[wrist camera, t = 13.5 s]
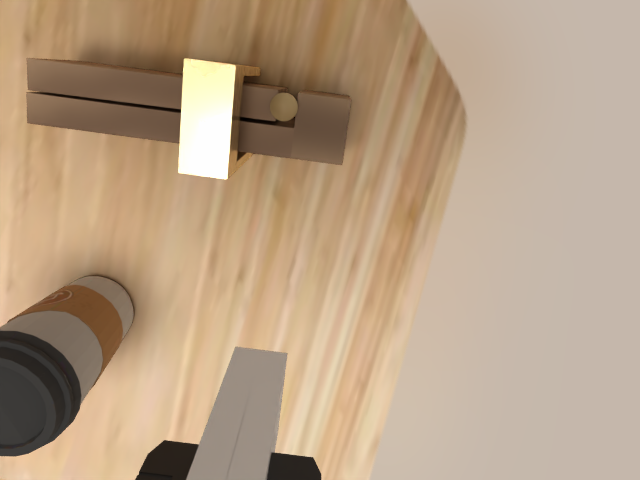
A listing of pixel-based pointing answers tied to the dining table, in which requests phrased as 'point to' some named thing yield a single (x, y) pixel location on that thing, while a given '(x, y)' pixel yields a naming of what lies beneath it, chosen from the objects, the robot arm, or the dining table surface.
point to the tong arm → (133, 85)
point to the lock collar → (212, 118)
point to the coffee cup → (57, 359)
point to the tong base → (254, 134)
